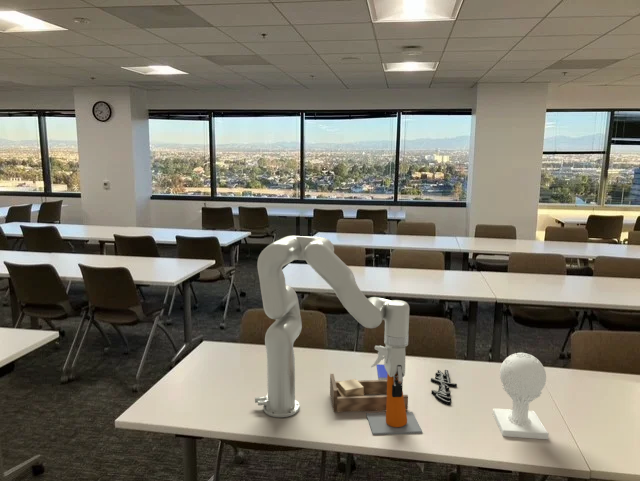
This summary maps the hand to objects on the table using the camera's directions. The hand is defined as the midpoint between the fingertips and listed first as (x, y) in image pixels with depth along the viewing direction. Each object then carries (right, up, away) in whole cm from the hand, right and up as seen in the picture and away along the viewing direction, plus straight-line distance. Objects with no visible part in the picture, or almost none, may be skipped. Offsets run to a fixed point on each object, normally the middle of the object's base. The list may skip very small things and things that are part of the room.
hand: (394, 390), depth 154 cm
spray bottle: (-1, -11, +2) cm, 11 cm away
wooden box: (-7, -9, +16) cm, 20 cm away
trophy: (+41, -12, +1) cm, 43 cm away
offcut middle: (-14, -7, +15) cm, 22 cm away
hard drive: (+3, -6, +40) cm, 40 cm away
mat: (0, -11, +2) cm, 12 cm away
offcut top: (-13, -5, +15) cm, 21 cm away
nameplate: (+23, -8, +28) cm, 37 cm away
